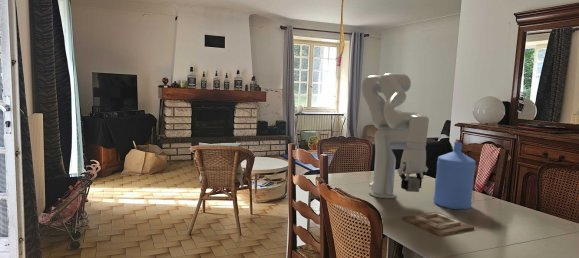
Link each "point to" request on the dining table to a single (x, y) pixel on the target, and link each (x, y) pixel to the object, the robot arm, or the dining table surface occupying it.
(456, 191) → the water jug
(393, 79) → the robot arm
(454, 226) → the pocket board
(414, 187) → the dice cube
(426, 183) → the dining table surface
